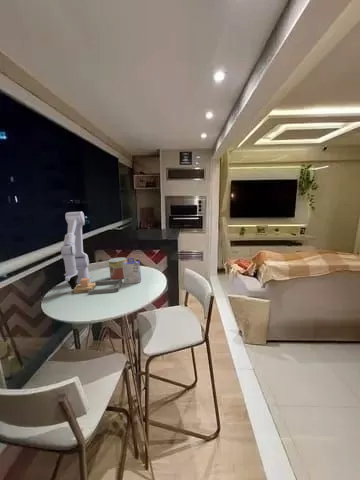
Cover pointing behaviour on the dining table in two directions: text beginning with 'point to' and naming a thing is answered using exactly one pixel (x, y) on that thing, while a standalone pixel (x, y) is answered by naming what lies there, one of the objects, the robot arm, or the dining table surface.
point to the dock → (106, 288)
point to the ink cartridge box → (131, 271)
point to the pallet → (84, 288)
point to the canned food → (116, 268)
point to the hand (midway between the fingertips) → (73, 288)
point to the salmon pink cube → (85, 282)
